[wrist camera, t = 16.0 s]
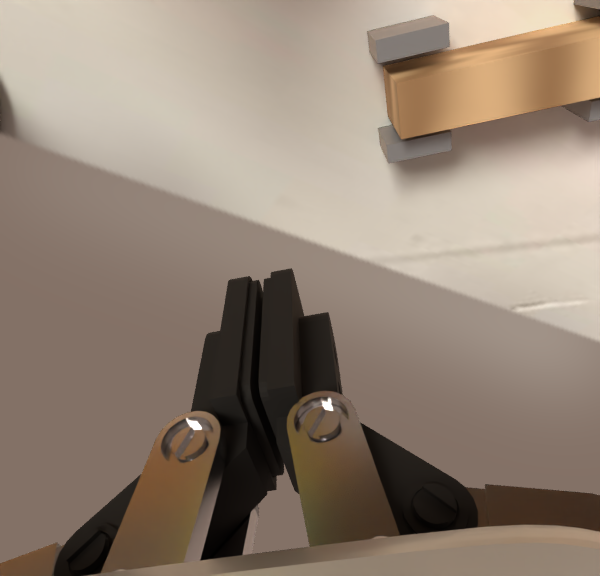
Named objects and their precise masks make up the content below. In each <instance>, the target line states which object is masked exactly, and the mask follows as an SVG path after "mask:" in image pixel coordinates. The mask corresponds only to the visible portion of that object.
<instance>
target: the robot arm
mask: <svg viewBox="0 0 600 576" xmlns="http://www.w3.org/2000/svg"><path fill="white" fill-rule="evenodd" d="M0 119H1V116H0ZM284 464H285V466H286V469H287V472H288V474H289V477H290V479H291V482H292V485H293V487H294V490H295V491H296V492H297V493H298V494H300V499H301V504H302V510H303V515H304V520H305V525H306V531H307V536H308V541H309V546H310V547H304V548H296V549H288V550H280V551H272V552H264V553H256V554H252V551H253V545H254V539H255V534H256V529H257V523H258V518H259V507H258V504H259V503H260V502H261V500H262V499H263V498H264V497H265V496H266V495H267V491H272V490H276V476H277V475H283V473H284ZM0 576H600V495H597V494H593V493H582V492H571V491H559V490H548V489H535V488H524V487H513V486H501V485H489V484H485V489H479V488H468V487H464V486H463V485H462V484H460V483H459V482H458V481H457V480H456V479H454V478H452V477H451V476H449V475H447V474H446V473H444V472H442V471H440V470H439V469H437V468H435V467H434V466H432V465H430V464H429V463H427V462H425V461H424V460H422V459H420V458H419V457H417V456H415V455H414V454H412V453H410V452H409V451H407V450H405V449H404V448H402V447H400V446H399V445H397V444H395V443H394V442H392V441H390V440H389V439H387V438H385V437H383V436H382V435H380V434H379V433H377V432H375V431H374V430H372V429H370V428H369V427H367V426H365V425H364V424H362V423H360V421H359V418H358V415H357V412H356V410H355V408H354V406H353V404H352V403H351V401H350V400H349V399H347V398H346V397H345V396H344V395H343V394H342V387H341V380H340V372H339V366H338V358H337V353H336V347H335V341H334V336H333V331H332V327H331V321H330V317H329V313H328V312H327V313H321V314H315V315H310V316H304V313H303V309H302V305H301V301H300V297H299V293H298V289H297V285H296V281H295V277H294V274H293V270H292V269H286V270H281V271H275V272H271V278H267V279H264V287H263V291H262V288H261V284H260V282H259V280H256V281H252V279H251V277H250V276H248V277H243V278H237V279H232V280H229V281H228V286H227V292H226V299H225V305H224V311H223V317H222V324H221V330H220V331H217V332H212V333H208V334H207V336H206V339H205V343H204V348H203V353H202V359H201V363H200V369H199V374H198V379H197V384H196V389H195V394H194V399H193V404H192V409H191V412H187V413H185V414H182V415H180V416H178V417H176V418H175V419H173V420H172V421H171V422H169V423H168V424H167V425H166V426H165V427H164V428H163V429H162V430H161V432H160V433H159V435H158V437H157V439H156V440H155V443H154V445H153V448H152V450H151V452H150V455H149V457H148V460H147V462H146V465H145V467H144V469H143V472H142V474H141V475H140V476H139V477H137V478H136V479H135V480H134V481H133V482H132V483H131V484H129V485H128V486H127V487H126V488H125V489H124V490H123V491H122V492H120V493H119V494H118V495H117V496H116V497H115V498H114V499H112V500H111V501H110V502H109V503H108V504H107V505H106V506H105V507H103V508H102V509H101V510H100V511H99V512H98V513H97V514H96V515H94V516H93V517H92V518H91V519H90V520H89V521H88V522H86V523H85V524H84V525H83V526H82V527H81V528H80V529H78V530H77V531H76V532H75V533H74V534H73V536H72V537H71V538H70V539H69V540H68V541H67V542H66V544H65V545H62V546H61V545H59V544H58V543H57V542H56V543H53V544H51V545H48V546H45V547H43V548H40V549H37V550H34V551H32V552H29V553H26V554H24V555H21V556H18V557H16V558H13V559H10V560H8V561H5V562H2V563H0Z"/></svg>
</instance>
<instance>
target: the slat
mask: <svg viewBox="0 0 600 576" xmlns="http://www.w3.org/2000/svg"><path fill="white" fill-rule="evenodd" d="M383 71H384V81H385V92H386V102H387V112H388V117H389V119H390V121H391V122H392V124H393V126H394V128H395V129H396V131H397V133H398V135H399V136H400V138H401V139H405V138H410V137H415V136H420V135H424V134H429V133H434V132H439V131H443V130H448V129H453V128H457V127H462V126H467V125H472V124H476V123H481V122H486V121H490V120H495V119H500V118H505V117H509V116H514V115H519V114H524V113H528V112H533V111H538V110H542V109H547V108H552V107H557V106H561V105H566V104H571V103H576V102H580V101H585V100H590V99H594V98H599V97H600V16H597V17H593V18H589V19H584V20H580V21H576V22H571V23H567V24H563V25H558V26H554V27H550V28H545V29H541V30H537V31H532V32H528V33H524V34H519V35H515V36H511V37H506V38H502V39H498V40H493V41H489V42H485V43H480V44H476V45H471V46H467V47H463V48H458V49H454V50H450V51H445V52H441V53H437V54H432V55H428V56H424V57H419V58H415V59H411V60H406V61H402V62H398V63H393V64H389V65H385V66H383Z"/></svg>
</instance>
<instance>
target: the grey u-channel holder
mask: <svg viewBox="0 0 600 576" xmlns="http://www.w3.org/2000/svg"><path fill="white" fill-rule="evenodd" d="M574 4H575V5H580V6H585V7H590V8H595V9H600V0H574ZM562 107H564V108H566V109H567V110H569V111H571V112H573V113H574V114H576V115H578V116H579V117H581V118H583V119H585V120H586V121H588V122H591V121H596V120H600V97H599V98H594V99H590V100H585V101H580V102H576V103H571V104H566V105H562Z"/></svg>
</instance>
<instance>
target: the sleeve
mask: <svg viewBox="0 0 600 576" xmlns="http://www.w3.org/2000/svg"><path fill="white" fill-rule="evenodd" d="M367 34H368V43H369V52H370V54H371V55H372V56H373V58H374V59H375V60H376V62H377V63H383V62H387V61H391V60H395V59H400V58H404V57H408V56H413V55H417V54H421V53H425V52H430V51H434V50H438V49H443V48H447V47H449V23H448V22H446V21H444V20H442V19H440V18H438V17H436V16H434V15H433V16H428V17H424V18H420V19H416V20H412V21H408V22H404V23H399V24H395V25H391V26H387V27H383V28H379V29H375V30H371V31H367ZM378 131H379V139H380V146H381V148H382V150H383V153H384V155H385V157H386V159H387V162H388V163H393V162H398V161H403V160H408V159H413V158H417V157H422V156H427V155H432V154H437V153H441V152H446V151H451V150H452V143H451V131H450V130H449V129H448V130H443V131H439V132H434V133H429V134H424V135H420V136H415V137H410V138H405V139H401V138H400V136H399V135H398V133H397V131H396V129H395V128H394V126H393V125H390V126H385V127H381V128H378Z"/></svg>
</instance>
